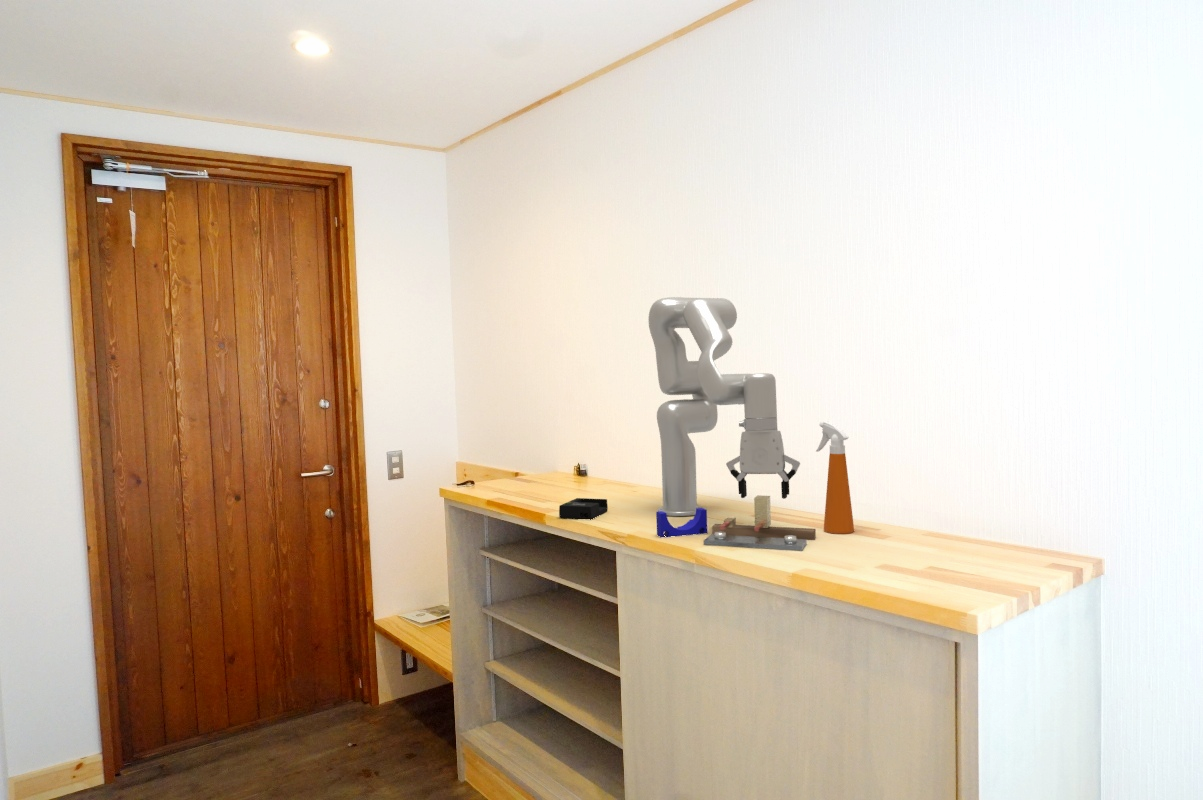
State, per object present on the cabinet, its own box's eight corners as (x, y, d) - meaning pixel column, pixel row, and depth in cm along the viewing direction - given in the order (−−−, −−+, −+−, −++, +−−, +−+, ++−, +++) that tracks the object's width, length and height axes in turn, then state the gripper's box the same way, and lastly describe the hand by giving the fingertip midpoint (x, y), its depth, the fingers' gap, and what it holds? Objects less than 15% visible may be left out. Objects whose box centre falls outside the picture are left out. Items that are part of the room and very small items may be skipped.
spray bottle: (829, 524, 197) (827, 420, 196) (860, 531, 187) (858, 422, 186) (807, 527, 194) (805, 421, 193) (837, 535, 184) (835, 424, 183)
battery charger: (591, 521, 212) (591, 506, 212) (559, 519, 216) (558, 505, 216) (607, 512, 224) (607, 499, 224) (577, 511, 228) (576, 497, 228)
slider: (758, 524, 189) (757, 495, 188) (770, 524, 187) (770, 495, 187) (749, 532, 180) (749, 501, 180) (762, 532, 179) (762, 502, 178)
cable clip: (700, 530, 195) (699, 506, 195) (707, 534, 191) (706, 509, 191) (654, 534, 192) (654, 510, 192) (661, 538, 188) (660, 513, 187)
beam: (716, 531, 193) (715, 516, 193) (815, 536, 183) (815, 521, 183) (705, 539, 184) (705, 524, 184) (810, 545, 175) (809, 529, 175)
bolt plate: (711, 538, 185) (711, 529, 185) (806, 543, 177) (806, 534, 176) (703, 544, 179) (703, 535, 179) (801, 550, 170) (801, 540, 170)
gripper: (721, 427, 185) (724, 499, 185) (795, 425, 178) (798, 500, 179) (729, 425, 192) (731, 494, 192) (800, 423, 185) (803, 495, 185)
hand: (764, 497), depth 185 cm, fingers open, 9 cm apart
